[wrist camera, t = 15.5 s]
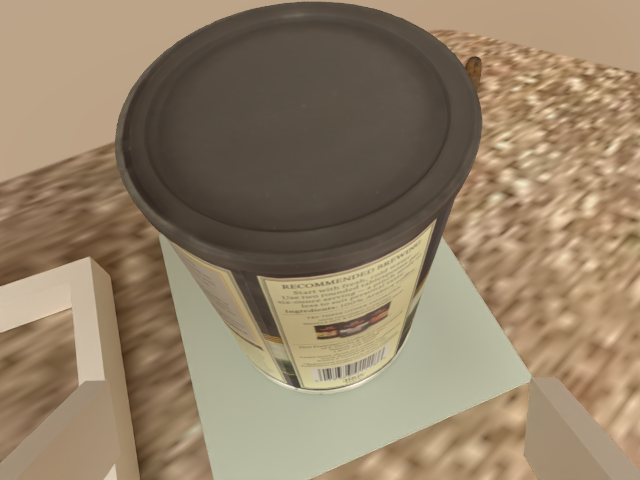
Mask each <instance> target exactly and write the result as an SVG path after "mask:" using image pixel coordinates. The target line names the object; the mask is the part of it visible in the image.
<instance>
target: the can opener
mask: <svg viewBox="0 0 640 480" xmlns="http://www.w3.org/2000/svg"><path fill="white" fill-rule="evenodd" d="M466 71H467V72H468V74H469V76H470V78H471V80H472V82H473V84H474V87H475V89H476V92H477V89H478V85H479V81H480V76H481V59H480V58H479V57H472V58H470V59H469V61H468V64H467V67H466Z"/></svg>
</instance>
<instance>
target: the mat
mask: <svg viewBox="0 0 640 480" xmlns="http://www.w3.org/2000/svg"><path fill="white" fill-rule="evenodd" d="M159 239H160V244H161V248H162V253H163V257H164V261H165V266H166V270H167V275H168V279H169V284H170V288H171V292H172V297H173V301H174V306H175V310H176V314H177V319H178V323H179V328H180V332H181V337H182V341H183V345H184V350H185V354H186V359H187V363H188V368H189V372H190V376H191V381H192V385H193V390H194V394H195V398H196V403H197V407H198V412H199V416H200V421H201V425H202V429H203V434H204V438H205V443H206V447H207V452H208V456H209V460H210V465H211V469H212V474H213V478H214V480H309V479H312V478H314V477H316V476H318V475H321V474H323V473H325V472H327V471H330V470H332V469H334V468H336V467H339V466H341V465H343V464H345V463H348V462H350V461H352V460H354V459H357V458H359V457H361V456H363V455H366V454H368V453H370V452H372V451H375V450H377V449H379V448H381V447H384V446H386V445H388V444H390V443H393V442H395V441H397V440H399V439H402V438H404V437H406V436H409V435H411V434H413V433H415V432H418V431H420V430H422V429H424V428H427V427H429V426H431V425H433V424H436V423H438V422H440V421H442V420H445V419H447V418H449V417H451V416H454V415H456V414H458V413H460V412H463V411H465V410H467V409H469V408H472V407H474V406H476V405H478V404H481V403H483V402H485V401H487V400H490V399H492V398H494V397H496V396H499V395H501V394H503V393H505V392H508V391H510V390H512V389H514V388H517V387H519V386H521V385H523V384H526V383H528V382H530V379H531V377H532V375H531V374H530V372H529V371H528V369H527V368H526V366H525V364H524V363H523V361H522V360H521V358H520V357H519V355H518V353H517V352H516V350H515V349H514V347H513V346H512V344H511V343H510V341H509V339H508V338H507V336H506V335H505V333H504V332H503V330H502V329H501V327H500V325H499V324H498V322H497V321H496V319H495V318H494V316H493V315H492V313H491V311H490V310H489V308H488V307H487V305H486V304H485V302H484V301H483V299H482V297H481V296H480V294H479V293H478V291H477V290H476V288H475V286H474V285H473V283H472V282H471V280H470V279H469V277H468V276H467V274H466V272H465V271H464V269H463V268H462V266H461V265H460V263H459V262H458V260H457V258H456V257H455V255H454V254H453V252H452V251H451V249H450V248H449V246H448V244H447V243H446V241H445V240H444V238H443V237H441V241H440V244H439V246H438V249H437V252H436V255H435V258H434V260H433V263H432V266H431V269H430V272H429V275H428V278H427V281H426V283H425V286H424V290H423V292H422V295H421V298H420V301H419V304H418V307H417V310H416V313H415V316H414V320H413V325H412V329H411V332H410V335H409V337H408V340H407V342H406V344H405V346H404V348H403V350H402V351H401V352H400V354H399V356H398V357H397V358H396V360H395V361H394V362H393V364H391V365H390V366H389V367H388V368H387V369H386V370H385V371H383V372H382V373H381V374H380V375H379V376H377V377H376V378H374V379H373V380H371V381H369V382H367V383H365V384H363V385H361V386H359V387H357V388H354V389H351V390H347V391H344V392H339V393H334V394H326V395H320V394H306V393H301V392H297V391H293V390H290V389H287V388H284V387H282V386H280V385H278V384H276V383H274V382H273V381H271V380H269V379H267V378H266V377H265V376H264V375H263V374H261V373H260V372H259V371H257V370H256V369H255V368H254V367H253V366H252V364H251V363H250V362H249V360H248V359H247V358H246V357H245V355H244V354H243V352H242V350H241V349H240V347H239V345H238V343H237V340H236V339H235V337H234V336H233V335H232V333H231V332H230V330H229V329H228V327H227V326H226V324H225V323H224V321H223V320H222V319H221V317H220V315H219V314H218V313H217V311H216V310H215V309H214V307H213V305H212V304H211V303H210V301H209V300H208V298H207V297H206V295H205V294H204V292H203V291H202V289H201V288H200V287H199V285H198V284H197V282H196V281H195V279H194V278H193V276H192V275H191V273H190V272H189V271H188V269H187V268H186V266H185V265H184V263H183V262H182V260H181V259H180V258H179V256H178V255H177V253H176V252H175V250H174V249H173V247H172V246H171V245H170V243H169V242H168V240H167V239H166V237H165V236H164V235H163V234H162V233H161V234H159Z"/></svg>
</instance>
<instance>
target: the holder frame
mask: <svg viewBox="0 0 640 480" xmlns="http://www.w3.org/2000/svg"><path fill="white" fill-rule="evenodd" d="M69 308H72V312H73V324H74V335H75V346H76V357H77V368H78V379H79V386H80V385H81V384H82V383H83V382H84V381H99V380H109V385H110V391H111V398H112V404H113V410H114V416H115V422H116V428H117V434H118V440H119V447H120V453H121V455H120V457H119V458H118V460H117V461H116V463H115V464H114V466H113V467H112V468H111V470H110V471H109V473H108V474H107V476H106V477H105V479H104V480H140V474H139V467H138V461H137V454H136V447H135V440H134V433H133V426H132V420H131V413H130V406H129V399H128V392H127V386H126V379H125V372H124V365H123V358H122V351H121V345H120V338H119V331H118V324H117V317H116V311H115V304H114V297H113V290H112V283H111V276H110V275H109V274H108V273H107V272H106V271H105V270H103V269H102V268H101V267H100V266H99V265H98V264H97V263H96V262H95V261H94V260H93V259H92V258H91V257H90V256H89V257H86V258H83V259H80V260H77V261H74V262H71V263H69V264H66V265H63V266H60V267H57V268H54V269H51V270H48V271H45V272H42V273H39V274H36V275H33V276H30V277H27V278H24V279H21V280H18V281H15V282H12V283H9V284H6V285H4V286H1V287H0V333H1V332H4V331H7V330H9V329H12V328H15V327H18V326H21V325H24V324H26V323H29V322H32V321H35V320H38V319H41V318H43V317H46V316H49V315H52V314H55V313H58V312H60V311H63V310H66V309H69Z"/></svg>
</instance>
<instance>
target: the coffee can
mask: <svg viewBox="0 0 640 480" xmlns="http://www.w3.org/2000/svg"><path fill="white" fill-rule="evenodd" d="M481 130H482V116H481V106H480V102H479V98H478V95H477V92H476V89H475V87H474V84H473V82H472V80H471V78H470V76H469V74H468V72H467V71H466V69H465V68H464V66H463V64H462V63H461V62H460V60H459V59H458V58H457V57H456V55H455V54H454V53H453V52H452V51H451V50H449V48H448V47H447V46H446V45H444V44H443V43H442V42H441V41H439V40H438V39H437V38H435V37H434V36H433V35H431V34H430V33H428V32H427V31H425V30H424V29H422V28H420V27H418V26H416V25H414V24H412V23H410V22H408V21H406V20H404V19H402V18H399V17H396V16H394V15H392V14H389V13H386V12H383V11H380V10H377V9H372V8H368V7H363V6H358V5H353V4H344V3H333V2H296V3H284V4H277V5H271V6H265V7H260V8H255V9H250V10H247V11H244V12H240V13H237V14H234V15H231V16H228V17H225V18H223V19H220V20H218V21H215V22H213V23H211V24H210V25H206V26H205V27H203V28H201V29H198V30H197V31H195V32H193V33H191V34H190V35H188V36H186V37H185V38H183V39H181V40H180V41H178V42H177V43H176V44H174V45H173V46H172V47H171V48H169V49H168V50H166V51H165V52H164V53H163V54H162V55H160V56H159V57H158V58H157V59H156V60H155V61H154V62H153V63H152V64H151V65H150V66H149V67H148V68H147V69H146V70H145V71H144V72H143V74H142V75H141V76H140V78H139V79H138V80H137V82H136V83H135V85H134V86H133V87H132V89H131V91H130V92H129V94H128V97H127V99H126V101H125V103H124V105H123V107H122V110H121V113H120V116H119V119H118V123H117V129H116V138H115V154H116V160H117V166H118V169H119V172H120V175H121V178H122V181H123V183H124V185H125V187H126V189H127V191H128V193H129V194H130V196H131V197H132V199H133V201H134V202H135V204H136V205H137V207H138V208H139V209H140V210H141V212H142V213H143V214H144V216H145V217H146V218H147V219H148V221H149V222H150V223H151V224H152V225H153V226H154V227H155V228H156V229H157V230H158V231H159V232H160V233H162V234H163V235H164V236H165V237H166V239H167V240H168V242H169V243H170V245H171V246H172V247H173V249H174V250H175V252H176V253H177V255H178V256H179V258H180V259H181V260H182V262H183V263H184V265H185V266H186V268H187V269H188V271H189V272H190V273H191V275H192V276H193V278H194V279H195V281H196V282H197V284H198V285H199V287H200V288H201V289H202V291H203V292H204V294H205V295H206V297H207V298H208V300H209V301H210V303H211V304H212V305H213V307H214V309H215V310H216V311H217V313H218V314H219V315H220V317H221V319H222V320H223V321H224V323H225V324H226V326H227V327H228V329H229V330H230V332H231V333H232V335H233V336H234V337H235V339H236V340H237V343H238V345H239V347H240V349H241V350H242V352H243V354H244V355H245V357H246V358H247V359H248V360H249V362H250V363H251V364H252V366H253V367H254V368H255V369H256V370H257V371H259V372H260V373H261V374H263V375H264V376H265V377H266V378H267V379H269V380H271V381H273V382H274V383H276V384H278V385H280V386H282V387H284V388H287V389H290V390H293V391H297V392H301V393H306V394H320V395H326V394H334V393H339V392H344V391H347V390H351V389H354V388H357V387H359V386H361V385H363V384H365V383H367V382H369V381H371V380H373V379H374V378H376V377H377V376H379V375H380V374H381V373H382V372H383V371H385V370H386V369H387V368H388V367H389V366H390V365H391V364H393V362H394V361H395V360H396V358H397V357H398V356H399V354H400V352H401V351H402V350H403V348H404V346H405V344H406V342H407V340H408V337H409V335H410V332H411V329H412V325H413V320H414V316H415V313H416V310H417V307H418V304H419V301H420V298H421V295H422V292H423V290H424V286H425V283H426V281H427V278H428V275H429V272H430V269H431V266H432V263H433V260H434V258H435V255H436V252H437V249H438V246H439V244H440V241H441V237H442V234H443V231H444V229H445V226H446V223H447V220H448V217H449V214H450V211H451V208H452V205H453V203H454V199H455V197H456V195H457V194H458V192H459V191H460V189H461V188H462V186H463V184H464V182H465V180H466V178H467V176H468V174H469V172H470V170H471V168H472V165H473V163H474V160H475V157H476V155H477V152H478V148H479V143H480V139H481Z"/></svg>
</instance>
